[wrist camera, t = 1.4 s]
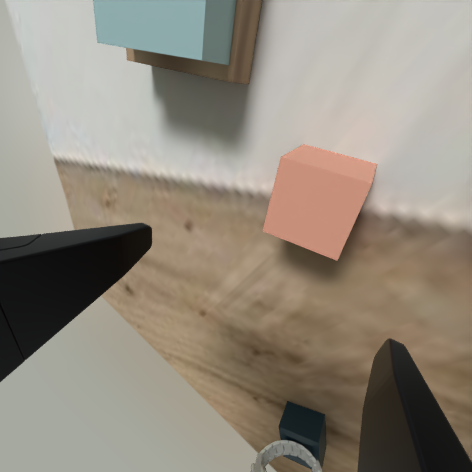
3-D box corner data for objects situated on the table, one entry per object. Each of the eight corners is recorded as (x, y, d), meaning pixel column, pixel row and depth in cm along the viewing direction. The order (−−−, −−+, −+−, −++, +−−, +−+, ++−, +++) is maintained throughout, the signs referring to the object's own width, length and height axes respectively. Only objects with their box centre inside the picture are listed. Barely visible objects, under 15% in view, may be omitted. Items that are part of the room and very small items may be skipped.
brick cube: (377, 163, 18) (372, 183, 14) (348, 228, 20) (337, 260, 16) (304, 144, 19) (281, 156, 15) (286, 206, 22) (262, 231, 18)
